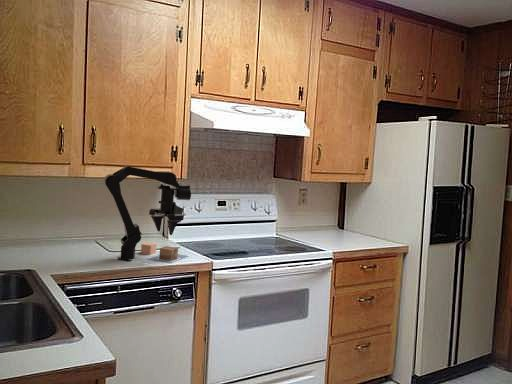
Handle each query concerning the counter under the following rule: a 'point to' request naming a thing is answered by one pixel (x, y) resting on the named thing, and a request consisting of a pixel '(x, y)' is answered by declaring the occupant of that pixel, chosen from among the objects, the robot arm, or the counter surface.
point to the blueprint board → (167, 260)
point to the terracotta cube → (148, 248)
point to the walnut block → (168, 253)
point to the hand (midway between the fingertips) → (164, 233)
